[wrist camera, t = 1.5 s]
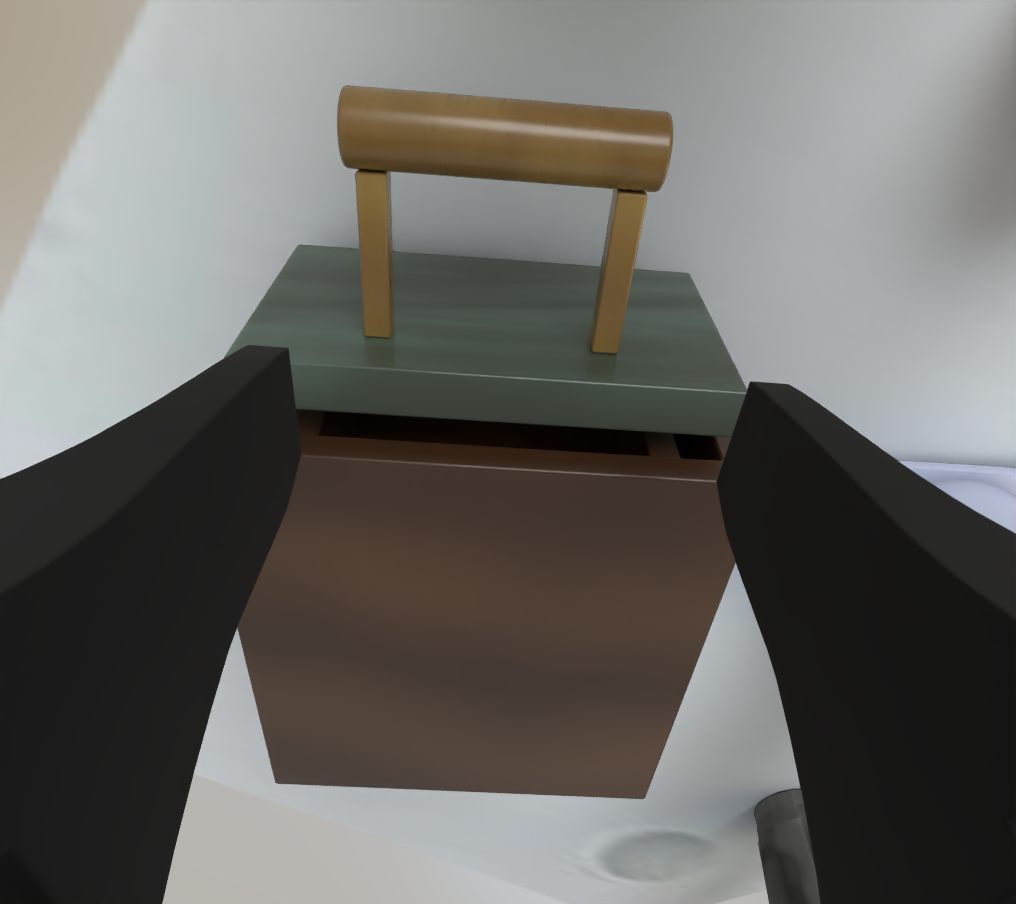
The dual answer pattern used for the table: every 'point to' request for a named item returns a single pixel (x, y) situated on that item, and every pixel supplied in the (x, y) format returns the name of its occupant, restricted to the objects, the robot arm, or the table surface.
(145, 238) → the table surface
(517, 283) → the drawer
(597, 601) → the cabinet
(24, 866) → the robot arm
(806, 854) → the beverage cup
